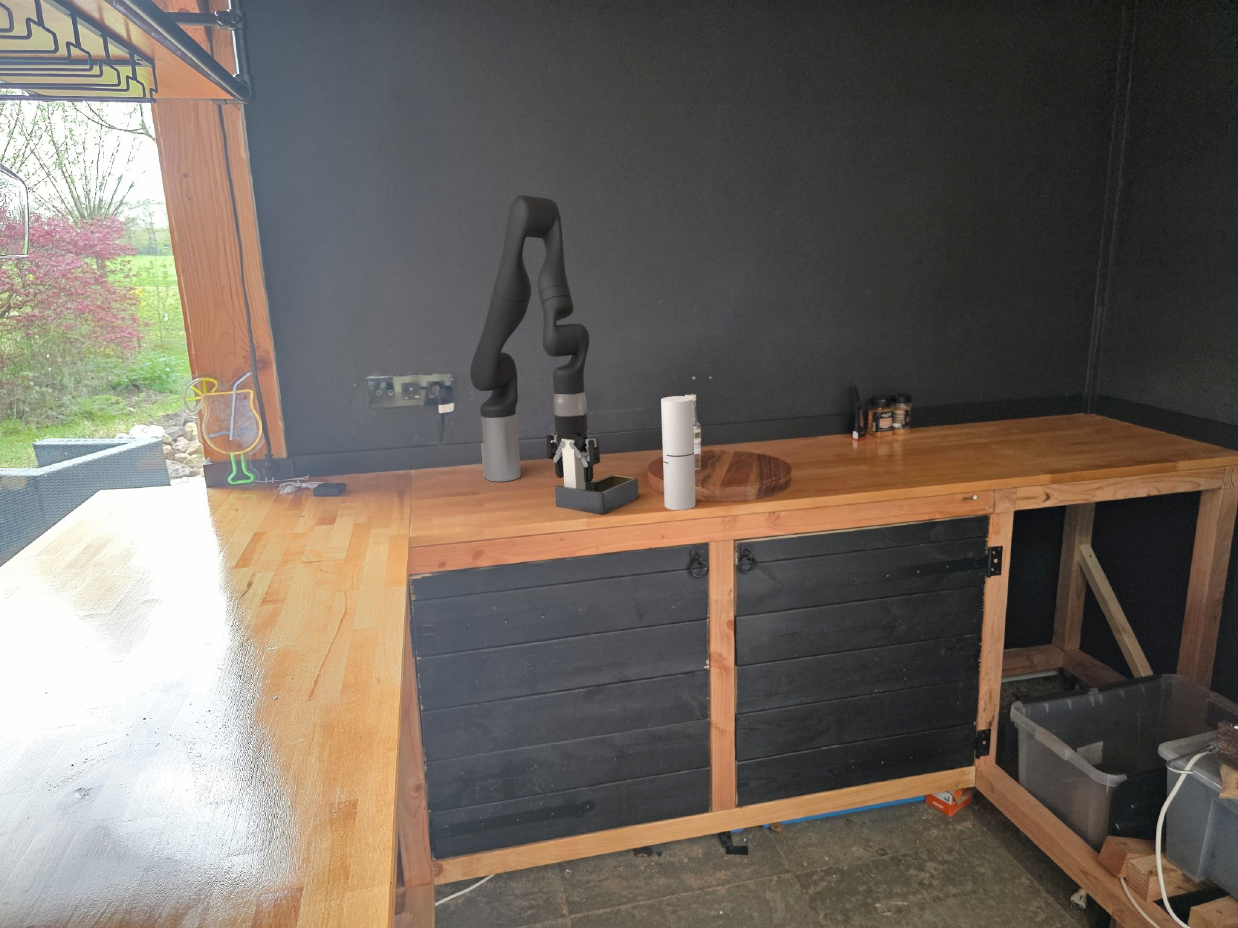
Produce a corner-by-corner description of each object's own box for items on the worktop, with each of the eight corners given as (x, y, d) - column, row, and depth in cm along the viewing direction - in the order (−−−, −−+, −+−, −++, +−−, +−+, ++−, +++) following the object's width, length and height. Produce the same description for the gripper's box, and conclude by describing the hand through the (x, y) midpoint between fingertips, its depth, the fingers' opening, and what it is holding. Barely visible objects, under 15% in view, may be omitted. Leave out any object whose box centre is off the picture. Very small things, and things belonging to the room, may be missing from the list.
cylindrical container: (684, 511, 190) (681, 402, 184) (658, 507, 194) (654, 400, 188) (701, 503, 196) (698, 397, 189) (675, 499, 200) (672, 395, 194)
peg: (565, 504, 199) (561, 439, 195) (574, 500, 202) (571, 436, 198) (577, 506, 197) (573, 440, 193) (586, 502, 200) (582, 437, 196)
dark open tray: (556, 506, 199) (554, 486, 197) (593, 490, 210) (592, 471, 209) (602, 514, 191) (601, 493, 189) (638, 498, 202) (637, 478, 201)
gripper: (536, 412, 195) (541, 479, 200) (584, 417, 187) (588, 487, 191) (557, 406, 201) (561, 472, 205) (604, 411, 193) (608, 479, 197)
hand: (574, 479), depth 198 cm, fingers open, 8 cm apart
